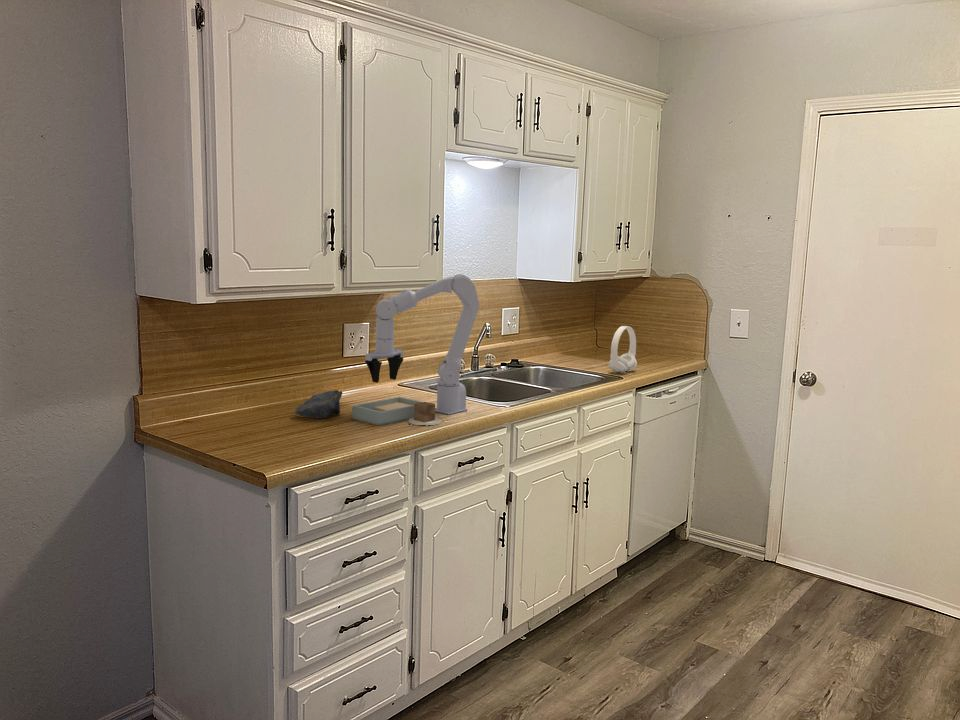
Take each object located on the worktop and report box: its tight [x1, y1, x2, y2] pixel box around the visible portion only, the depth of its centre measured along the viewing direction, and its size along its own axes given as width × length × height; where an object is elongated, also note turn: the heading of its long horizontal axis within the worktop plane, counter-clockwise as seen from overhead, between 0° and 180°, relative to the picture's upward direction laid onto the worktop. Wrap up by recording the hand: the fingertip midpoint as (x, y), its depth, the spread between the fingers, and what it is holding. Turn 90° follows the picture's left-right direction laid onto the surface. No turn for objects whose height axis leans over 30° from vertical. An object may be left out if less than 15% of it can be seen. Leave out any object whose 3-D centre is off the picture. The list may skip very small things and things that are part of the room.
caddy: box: [351, 396, 423, 427], centre depth 241 cm, size 20×12×4 cm, turn 141°
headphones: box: [607, 325, 638, 374], centre depth 333 cm, size 8×19×20 cm, turn 143°
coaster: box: [408, 416, 443, 427], centre depth 236 cm, size 10×10×1 cm
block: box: [414, 401, 436, 422], centre depth 236 cm, size 4×4×5 cm
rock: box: [293, 389, 343, 419], centre depth 238 cm, size 16×8×10 cm
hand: (384, 380), depth 247 cm, fingers open, 7 cm apart
